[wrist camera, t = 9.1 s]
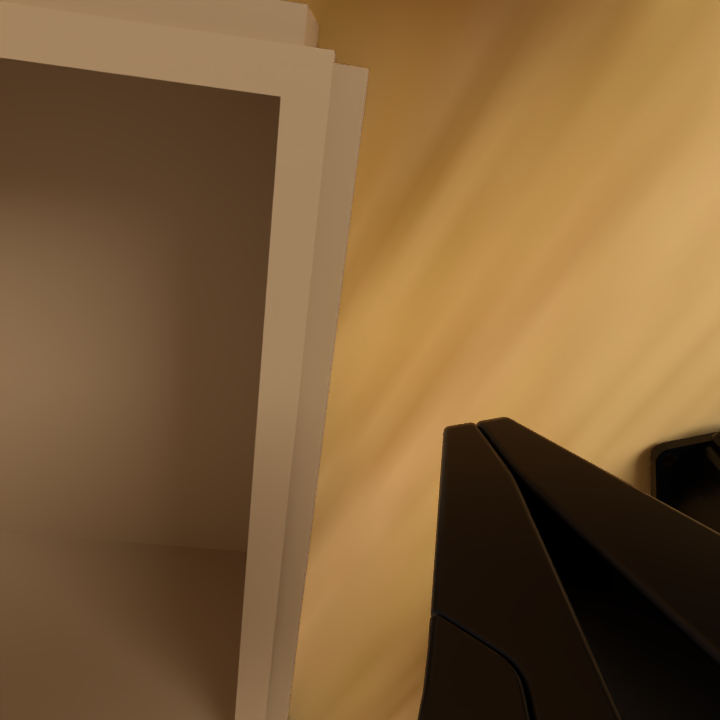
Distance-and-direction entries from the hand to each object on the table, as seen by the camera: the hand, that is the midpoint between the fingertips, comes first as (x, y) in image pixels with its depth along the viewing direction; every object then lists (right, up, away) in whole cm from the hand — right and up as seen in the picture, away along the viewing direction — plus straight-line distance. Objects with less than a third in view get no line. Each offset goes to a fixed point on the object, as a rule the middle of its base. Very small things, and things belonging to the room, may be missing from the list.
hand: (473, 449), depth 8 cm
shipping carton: (-10, +2, +12) cm, 16 cm away
